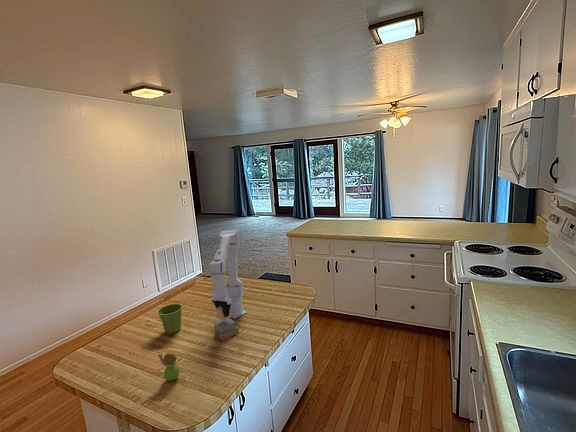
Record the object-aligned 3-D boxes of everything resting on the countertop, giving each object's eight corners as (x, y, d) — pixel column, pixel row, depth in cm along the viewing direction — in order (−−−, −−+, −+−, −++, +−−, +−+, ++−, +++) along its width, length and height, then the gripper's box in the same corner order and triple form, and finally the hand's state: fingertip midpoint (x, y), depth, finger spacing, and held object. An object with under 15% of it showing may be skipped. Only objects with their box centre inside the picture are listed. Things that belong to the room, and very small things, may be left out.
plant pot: (190, 328, 150) (187, 307, 148) (167, 339, 141) (163, 317, 139) (178, 321, 158) (175, 301, 156) (156, 332, 149) (152, 310, 148)
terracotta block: (217, 318, 141) (215, 308, 140) (225, 314, 144) (224, 304, 143) (222, 321, 138) (221, 310, 137) (230, 317, 141) (229, 307, 140)
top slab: (215, 328, 142) (214, 322, 142) (228, 322, 147) (227, 316, 146) (222, 334, 137) (221, 327, 136) (235, 327, 141) (234, 321, 141)
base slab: (214, 335, 142) (214, 329, 142) (229, 327, 148) (228, 322, 147) (224, 341, 137) (223, 335, 136) (238, 333, 142) (238, 327, 141)
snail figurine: (164, 375, 116) (159, 346, 114) (181, 373, 116) (177, 344, 114) (160, 385, 111) (154, 355, 109) (178, 383, 111) (173, 353, 109)
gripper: (204, 286, 141) (208, 313, 143) (220, 293, 131) (224, 323, 133) (217, 281, 146) (221, 307, 148) (234, 288, 135) (238, 316, 138)
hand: (223, 314), depth 141 cm, fingers closed on terracotta block, 4 cm apart
